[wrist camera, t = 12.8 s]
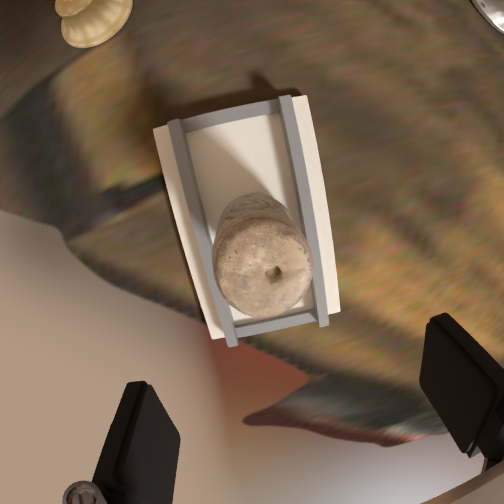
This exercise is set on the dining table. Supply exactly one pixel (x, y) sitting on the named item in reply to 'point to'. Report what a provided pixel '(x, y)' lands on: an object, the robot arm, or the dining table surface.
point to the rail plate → (245, 182)
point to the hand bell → (91, 20)
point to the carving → (260, 257)
